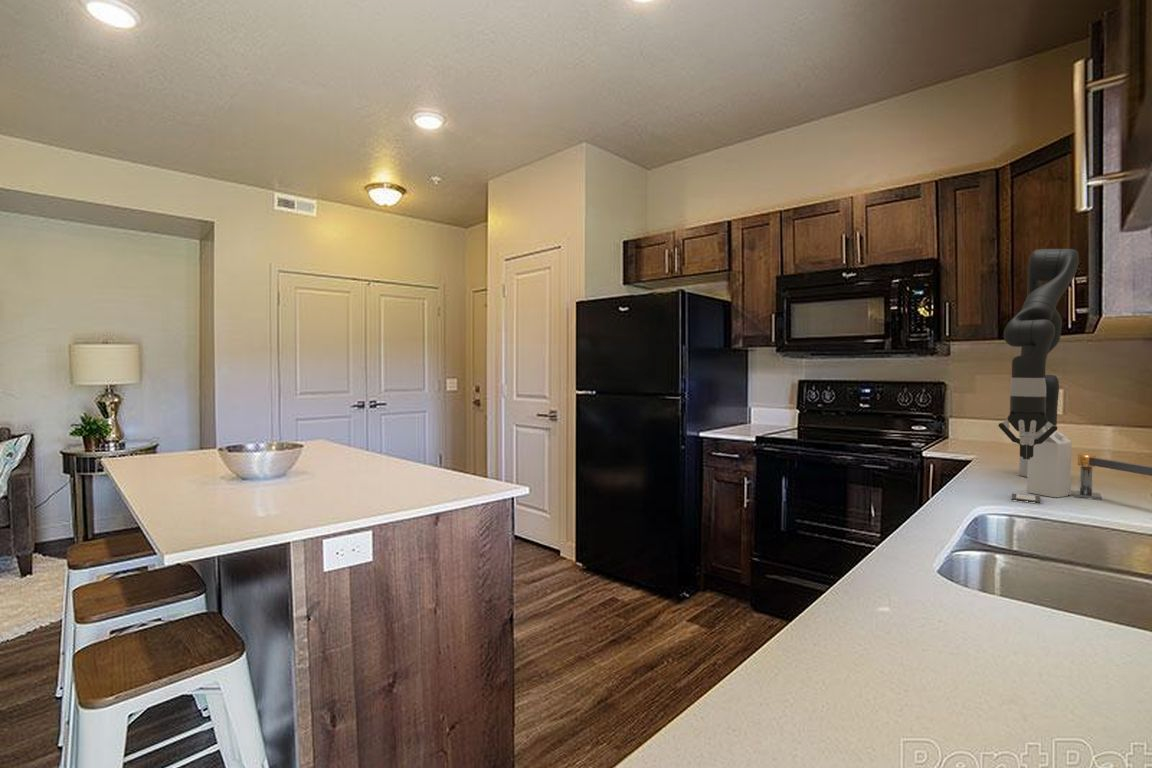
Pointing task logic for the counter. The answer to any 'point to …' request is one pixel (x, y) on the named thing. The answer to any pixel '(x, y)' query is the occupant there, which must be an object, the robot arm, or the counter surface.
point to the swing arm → (1113, 464)
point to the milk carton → (1050, 466)
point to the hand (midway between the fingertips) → (1026, 458)
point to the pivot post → (1086, 485)
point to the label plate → (1026, 498)
